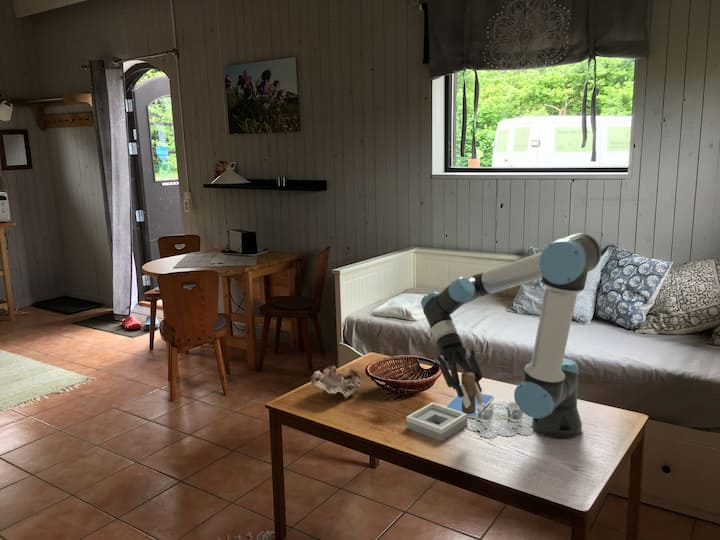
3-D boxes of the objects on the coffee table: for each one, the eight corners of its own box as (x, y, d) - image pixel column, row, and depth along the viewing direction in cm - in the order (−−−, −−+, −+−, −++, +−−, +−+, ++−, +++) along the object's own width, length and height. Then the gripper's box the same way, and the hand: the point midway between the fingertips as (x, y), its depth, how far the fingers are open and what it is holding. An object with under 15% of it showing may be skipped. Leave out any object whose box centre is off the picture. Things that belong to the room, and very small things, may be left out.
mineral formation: (324, 406, 214) (335, 382, 213) (297, 382, 225) (307, 359, 223) (365, 405, 231) (376, 382, 230) (339, 382, 242) (348, 361, 240)
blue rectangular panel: (475, 421, 203) (475, 417, 203) (440, 413, 209) (440, 410, 209) (494, 399, 219) (494, 395, 219) (462, 392, 225) (462, 389, 225)
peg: (477, 410, 188) (477, 374, 186) (470, 415, 185) (469, 378, 183) (466, 407, 191) (466, 371, 188) (459, 411, 188) (458, 375, 186)
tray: (467, 425, 199) (467, 413, 198) (441, 441, 189) (441, 429, 188) (432, 413, 209) (432, 402, 208) (406, 427, 199) (406, 416, 198)
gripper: (465, 338, 202) (494, 404, 190) (419, 347, 196) (446, 415, 184) (474, 327, 196) (504, 394, 184) (426, 335, 190) (454, 405, 178)
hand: (475, 404), depth 184 cm, fingers closed on peg, 4 cm apart
